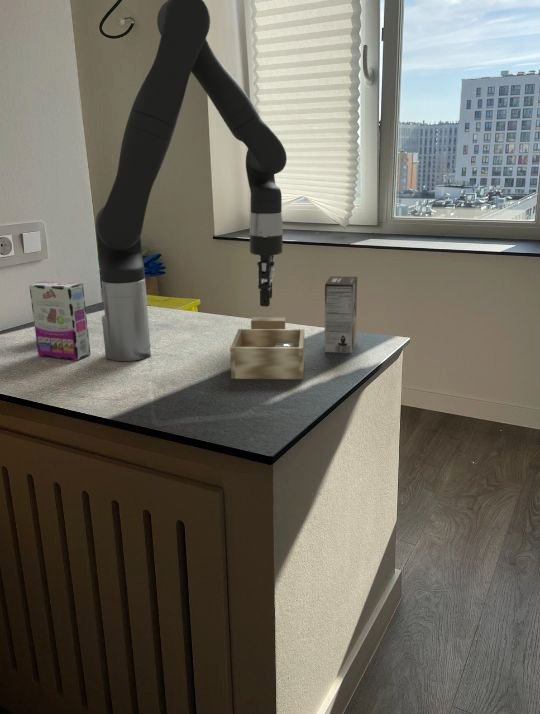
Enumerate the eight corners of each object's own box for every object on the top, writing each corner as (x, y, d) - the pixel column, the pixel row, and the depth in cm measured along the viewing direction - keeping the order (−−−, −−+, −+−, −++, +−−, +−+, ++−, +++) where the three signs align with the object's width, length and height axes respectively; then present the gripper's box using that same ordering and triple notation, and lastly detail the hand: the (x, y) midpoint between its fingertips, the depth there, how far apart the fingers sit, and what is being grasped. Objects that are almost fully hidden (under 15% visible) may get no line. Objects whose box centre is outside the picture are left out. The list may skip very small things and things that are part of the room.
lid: (234, 350, 148) (233, 327, 147) (241, 333, 163) (240, 311, 161) (299, 350, 147) (298, 327, 146) (300, 333, 162) (300, 311, 160)
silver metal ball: (274, 365, 132) (274, 347, 131) (275, 359, 136) (275, 341, 135) (294, 365, 132) (293, 347, 131) (294, 359, 136) (294, 341, 135)
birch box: (231, 382, 126) (230, 348, 124) (239, 360, 139) (238, 329, 137) (303, 382, 125) (302, 348, 123) (304, 360, 138) (304, 329, 136)
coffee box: (328, 343, 150) (329, 275, 145) (356, 344, 149) (357, 276, 144) (323, 355, 141) (324, 283, 136) (353, 356, 140) (354, 284, 135)
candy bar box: (92, 354, 145) (84, 283, 140) (77, 361, 140) (69, 287, 135) (52, 350, 149) (43, 280, 144) (37, 356, 144) (27, 284, 140)
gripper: (252, 229, 154) (253, 295, 159) (246, 236, 141) (247, 308, 146) (283, 229, 154) (283, 296, 159) (280, 236, 140) (280, 309, 145)
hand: (266, 302), depth 152 cm, fingers open, 8 cm apart
